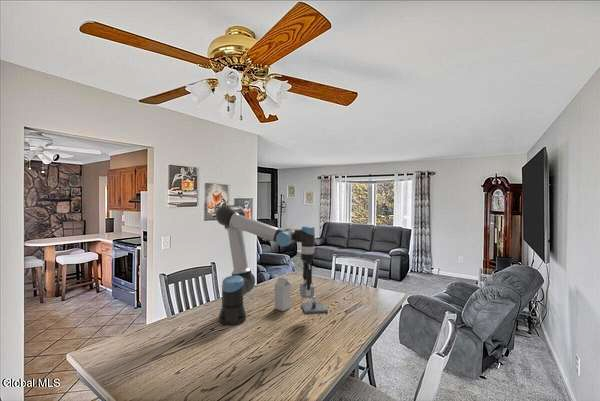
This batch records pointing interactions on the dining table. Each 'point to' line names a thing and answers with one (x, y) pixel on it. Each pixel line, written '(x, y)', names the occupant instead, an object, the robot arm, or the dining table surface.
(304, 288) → the grey square sleeve
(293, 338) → the dining table surface
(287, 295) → the milk carton
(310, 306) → the shaft stand
